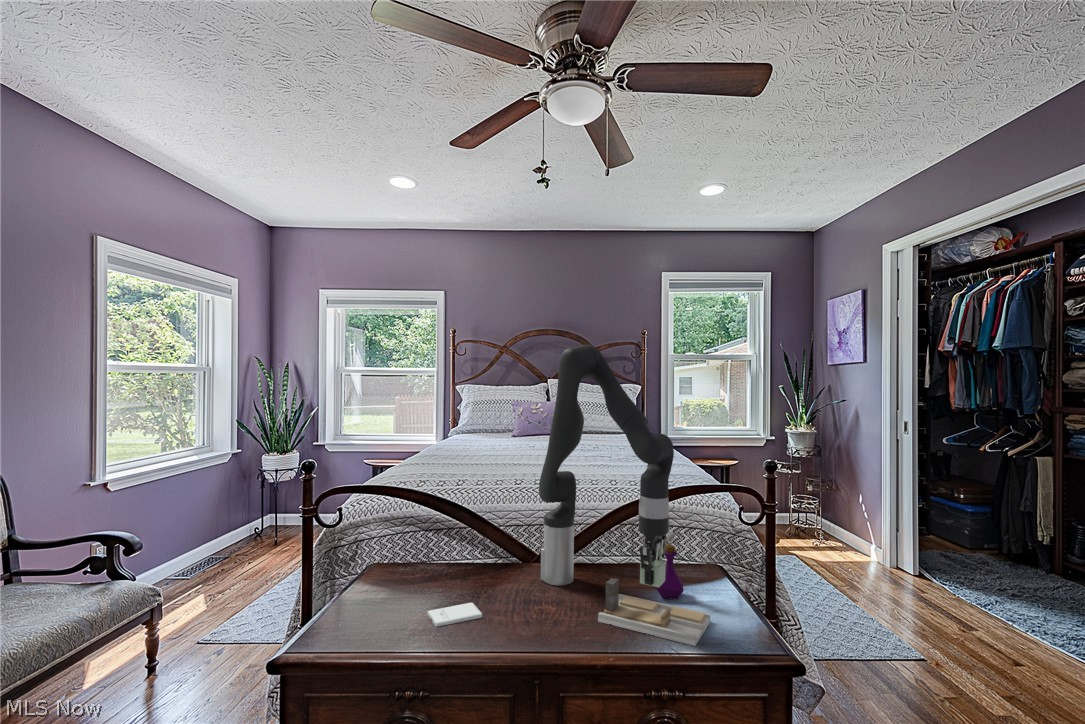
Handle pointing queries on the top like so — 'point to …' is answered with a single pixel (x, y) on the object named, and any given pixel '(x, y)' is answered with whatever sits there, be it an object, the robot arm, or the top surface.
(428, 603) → the top surface
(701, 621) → the lane board
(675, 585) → the perfume bottle
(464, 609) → the external hard drive
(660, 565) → the block
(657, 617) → the tan slider with post
